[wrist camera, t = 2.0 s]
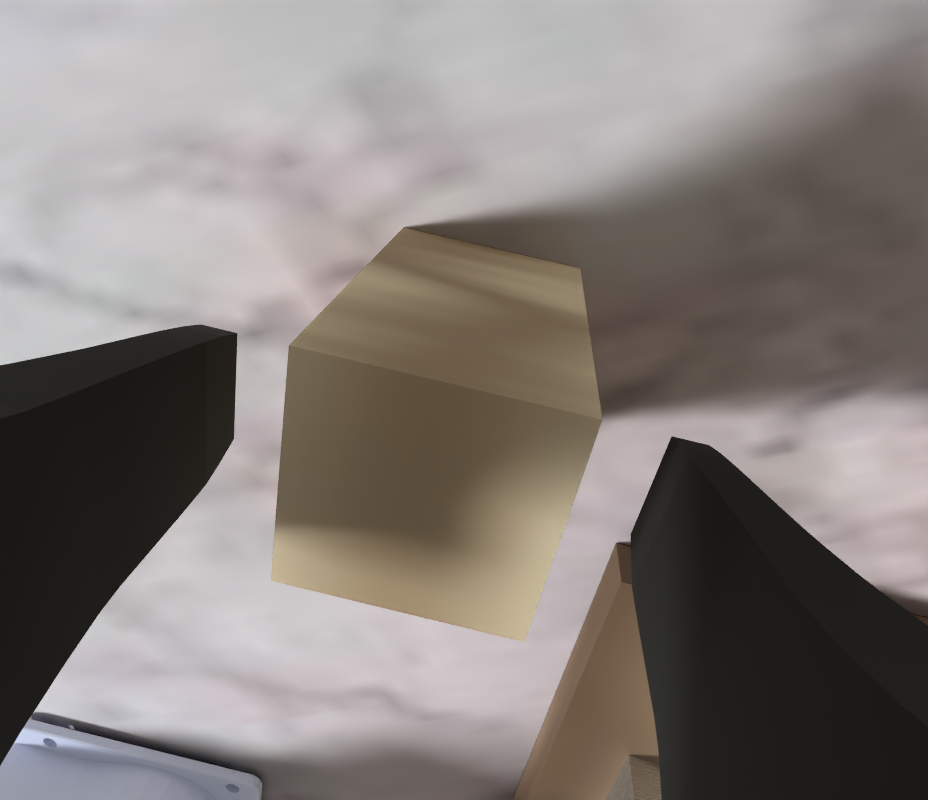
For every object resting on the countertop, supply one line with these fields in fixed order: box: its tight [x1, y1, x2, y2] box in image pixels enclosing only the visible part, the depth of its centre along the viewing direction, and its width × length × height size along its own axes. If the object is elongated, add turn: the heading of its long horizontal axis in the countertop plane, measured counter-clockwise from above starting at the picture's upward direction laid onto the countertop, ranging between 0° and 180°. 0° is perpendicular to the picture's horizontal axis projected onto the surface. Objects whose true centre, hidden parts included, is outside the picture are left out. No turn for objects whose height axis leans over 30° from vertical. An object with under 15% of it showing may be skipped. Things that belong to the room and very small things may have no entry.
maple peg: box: [271, 228, 602, 642], centre depth 12 cm, size 4×4×7 cm
